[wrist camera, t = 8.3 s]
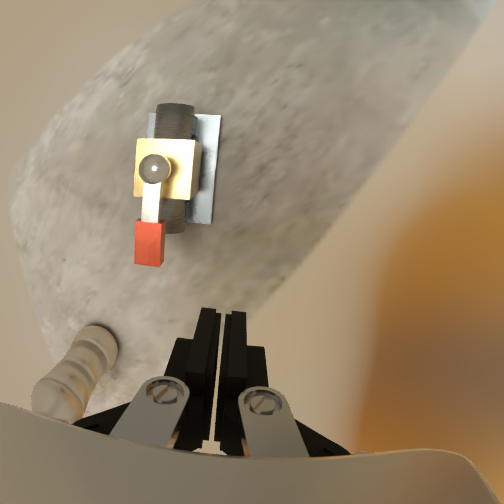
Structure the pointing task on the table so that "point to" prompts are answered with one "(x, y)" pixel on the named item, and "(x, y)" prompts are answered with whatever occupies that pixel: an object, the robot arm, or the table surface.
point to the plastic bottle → (75, 375)
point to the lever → (151, 211)
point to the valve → (182, 162)
